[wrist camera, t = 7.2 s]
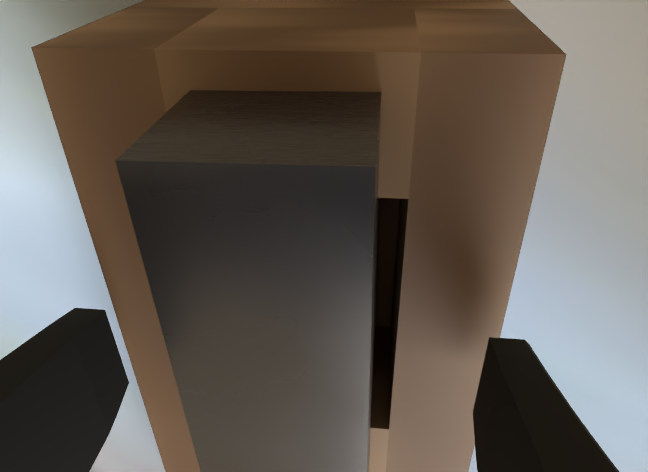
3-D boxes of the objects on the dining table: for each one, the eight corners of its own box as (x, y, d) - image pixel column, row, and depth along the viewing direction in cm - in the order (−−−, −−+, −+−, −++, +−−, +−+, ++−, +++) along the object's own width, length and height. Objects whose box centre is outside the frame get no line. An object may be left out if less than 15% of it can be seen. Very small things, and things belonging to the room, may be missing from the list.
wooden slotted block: (508, 0, 11) (566, 54, 7) (423, 511, 22) (428, 637, 18) (146, -1, 12) (32, 47, 8) (239, 492, 23) (209, 608, 19)
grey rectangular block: (385, 41, 10) (375, 167, 6) (374, 356, 15) (364, 566, 11) (240, 42, 11) (115, 160, 6) (275, 350, 16) (221, 550, 11)
